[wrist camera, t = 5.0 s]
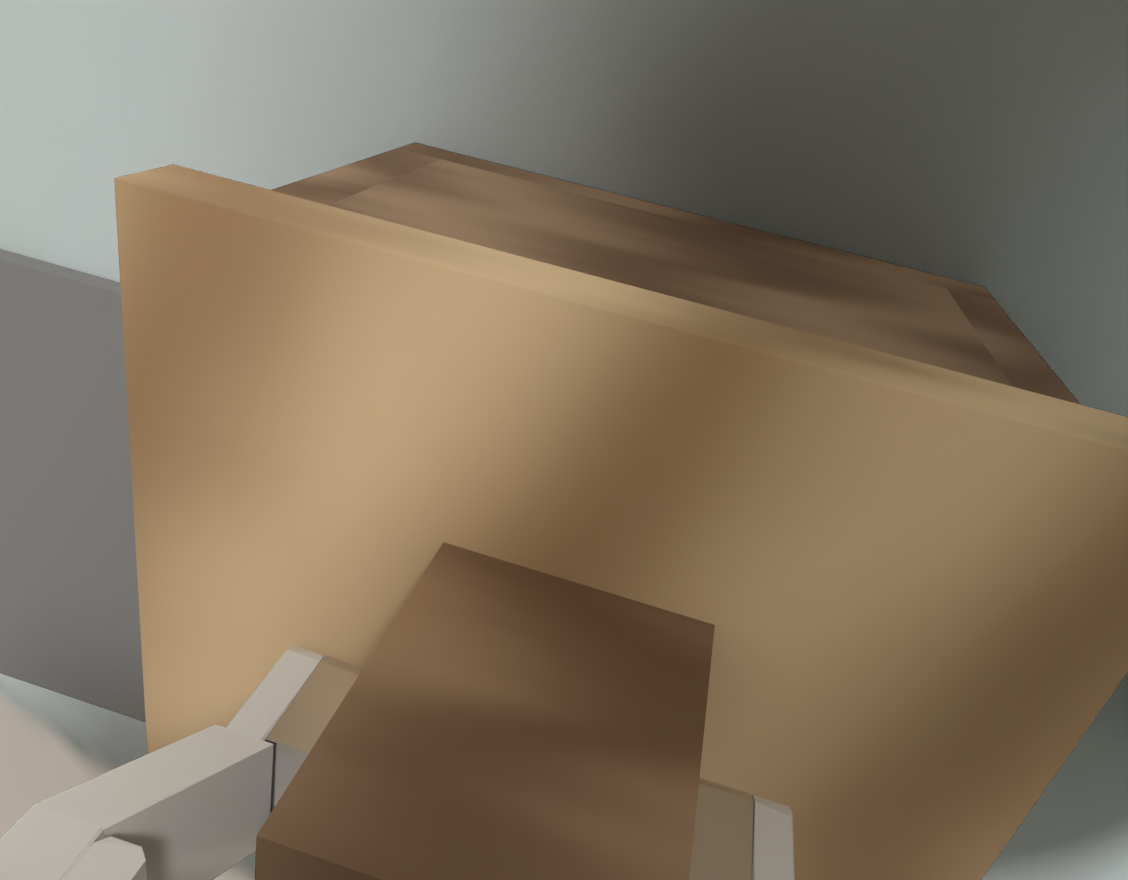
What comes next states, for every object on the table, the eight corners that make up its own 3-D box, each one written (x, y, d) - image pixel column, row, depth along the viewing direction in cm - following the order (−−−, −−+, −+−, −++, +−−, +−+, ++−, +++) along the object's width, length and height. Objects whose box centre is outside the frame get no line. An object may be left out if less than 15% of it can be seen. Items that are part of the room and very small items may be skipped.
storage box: (984, 287, 18) (1121, 454, 11) (812, 664, 23) (830, 940, 16) (414, 142, 19) (212, 208, 12) (371, 530, 25) (212, 732, 18)
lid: (1175, 406, 11) (1687, 897, 5) (853, 931, 17) (899, 1470, 11) (214, 154, 13) (-340, 285, 6) (215, 716, 18) (-77, 1078, 12)
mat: (249, 319, 22) (236, 326, 22) (239, 737, 30) (230, 750, 29) (-239, 182, 24) (-262, 185, 23) (-131, 613, 31) (-146, 623, 31)
